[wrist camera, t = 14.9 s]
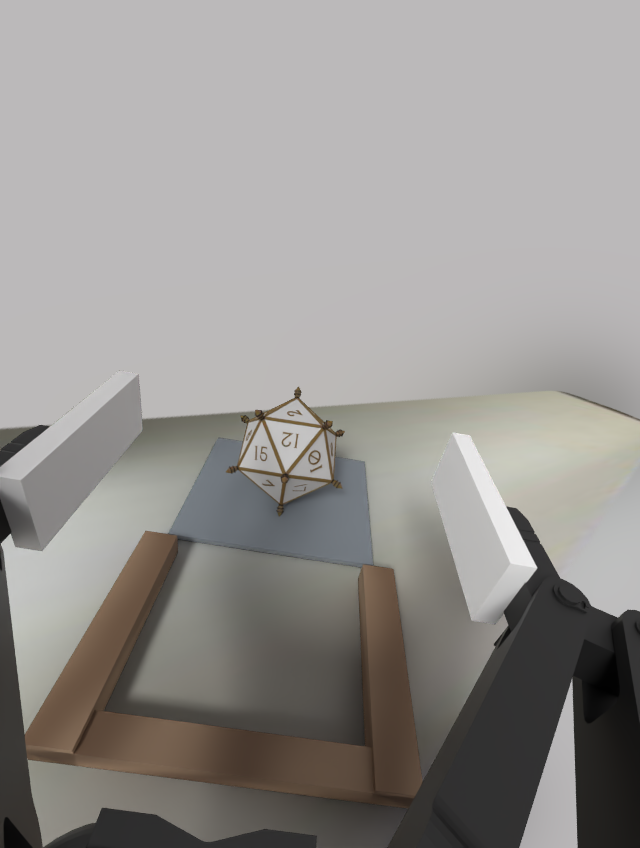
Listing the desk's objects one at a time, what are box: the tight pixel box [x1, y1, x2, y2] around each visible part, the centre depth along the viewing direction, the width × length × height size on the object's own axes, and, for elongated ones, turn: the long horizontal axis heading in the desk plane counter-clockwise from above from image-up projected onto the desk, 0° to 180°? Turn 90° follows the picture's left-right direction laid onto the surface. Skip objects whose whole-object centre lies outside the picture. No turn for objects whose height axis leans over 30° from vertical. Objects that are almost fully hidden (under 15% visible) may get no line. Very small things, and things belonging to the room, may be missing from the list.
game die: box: [226, 387, 345, 517], centre depth 29 cm, size 9×8×10 cm
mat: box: [168, 438, 373, 567], centre depth 31 cm, size 14×12×1 cm
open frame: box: [25, 531, 423, 809], centre depth 20 cm, size 16×11×2 cm
